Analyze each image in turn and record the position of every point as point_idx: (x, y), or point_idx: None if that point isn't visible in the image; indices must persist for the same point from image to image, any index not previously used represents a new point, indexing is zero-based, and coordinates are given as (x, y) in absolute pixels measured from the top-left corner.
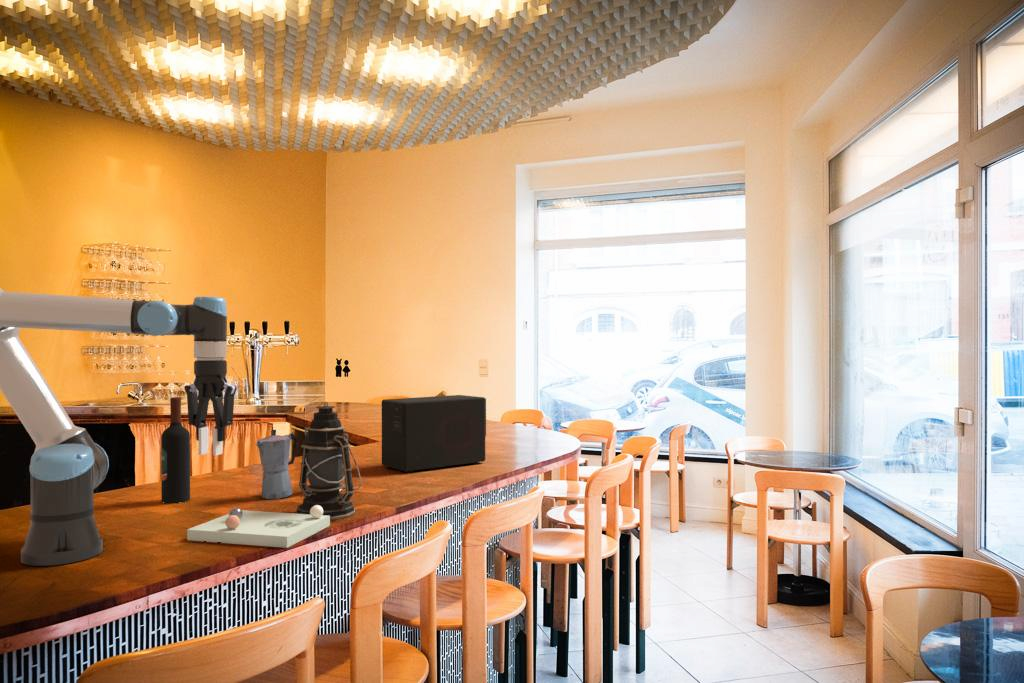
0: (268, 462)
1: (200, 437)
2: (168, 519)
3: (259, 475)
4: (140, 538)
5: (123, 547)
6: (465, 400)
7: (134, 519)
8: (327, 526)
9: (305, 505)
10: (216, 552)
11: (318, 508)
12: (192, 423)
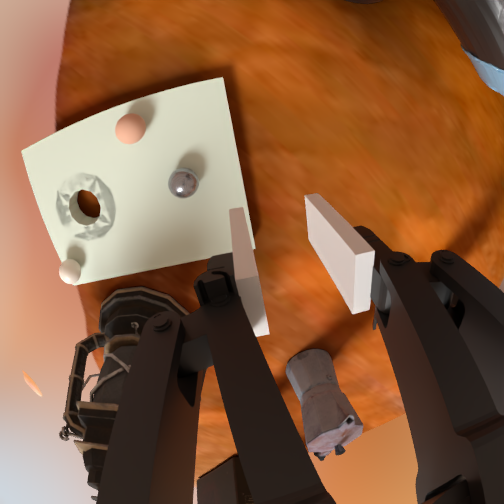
0: (324, 398)
1: (338, 227)
2: (380, 187)
3: (392, 397)
4: (323, 59)
5: (299, 7)
6: None
7: (428, 167)
8: None
9: (150, 313)
10: (105, 59)
11: (59, 271)
12: (433, 258)
